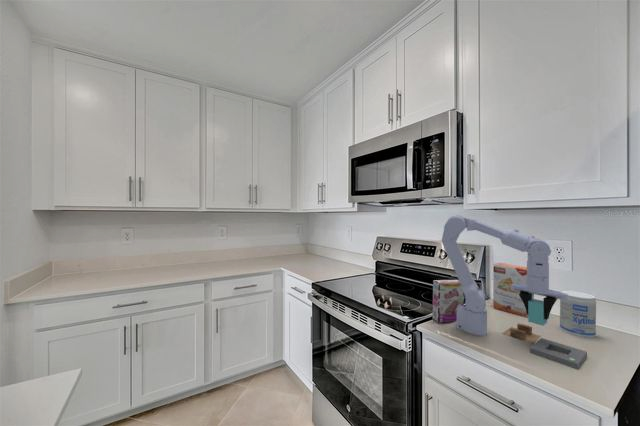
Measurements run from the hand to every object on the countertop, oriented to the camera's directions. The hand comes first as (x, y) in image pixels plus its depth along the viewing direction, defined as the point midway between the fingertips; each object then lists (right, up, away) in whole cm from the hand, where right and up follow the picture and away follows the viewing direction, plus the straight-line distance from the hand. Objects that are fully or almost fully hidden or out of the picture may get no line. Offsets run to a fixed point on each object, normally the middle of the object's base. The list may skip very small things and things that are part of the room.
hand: (537, 316), depth 89 cm
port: (+1, -10, -7) cm, 12 cm away
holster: (-1, -10, +6) cm, 12 cm away
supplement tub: (+22, -10, +9) cm, 26 cm away
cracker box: (+13, -10, +30) cm, 34 cm away
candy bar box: (-20, -10, +21) cm, 31 cm away
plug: (0, -2, 0) cm, 2 cm away
